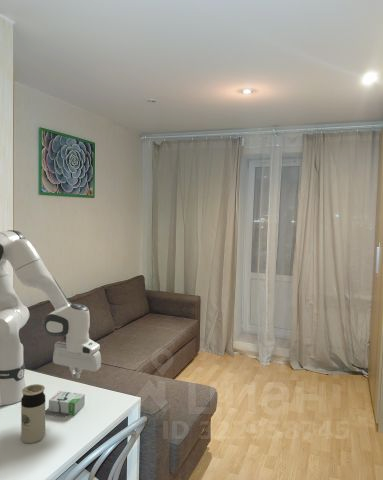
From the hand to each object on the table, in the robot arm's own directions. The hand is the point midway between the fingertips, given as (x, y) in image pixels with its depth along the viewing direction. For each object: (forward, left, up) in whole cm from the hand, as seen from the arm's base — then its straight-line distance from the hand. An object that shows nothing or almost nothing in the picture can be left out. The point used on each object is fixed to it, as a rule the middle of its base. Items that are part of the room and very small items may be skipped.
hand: (75, 377), depth 154 cm
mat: (-6, 0, -14) cm, 15 cm away
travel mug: (-4, -21, -14) cm, 25 cm away
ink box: (+2, 0, -11) cm, 11 cm away
